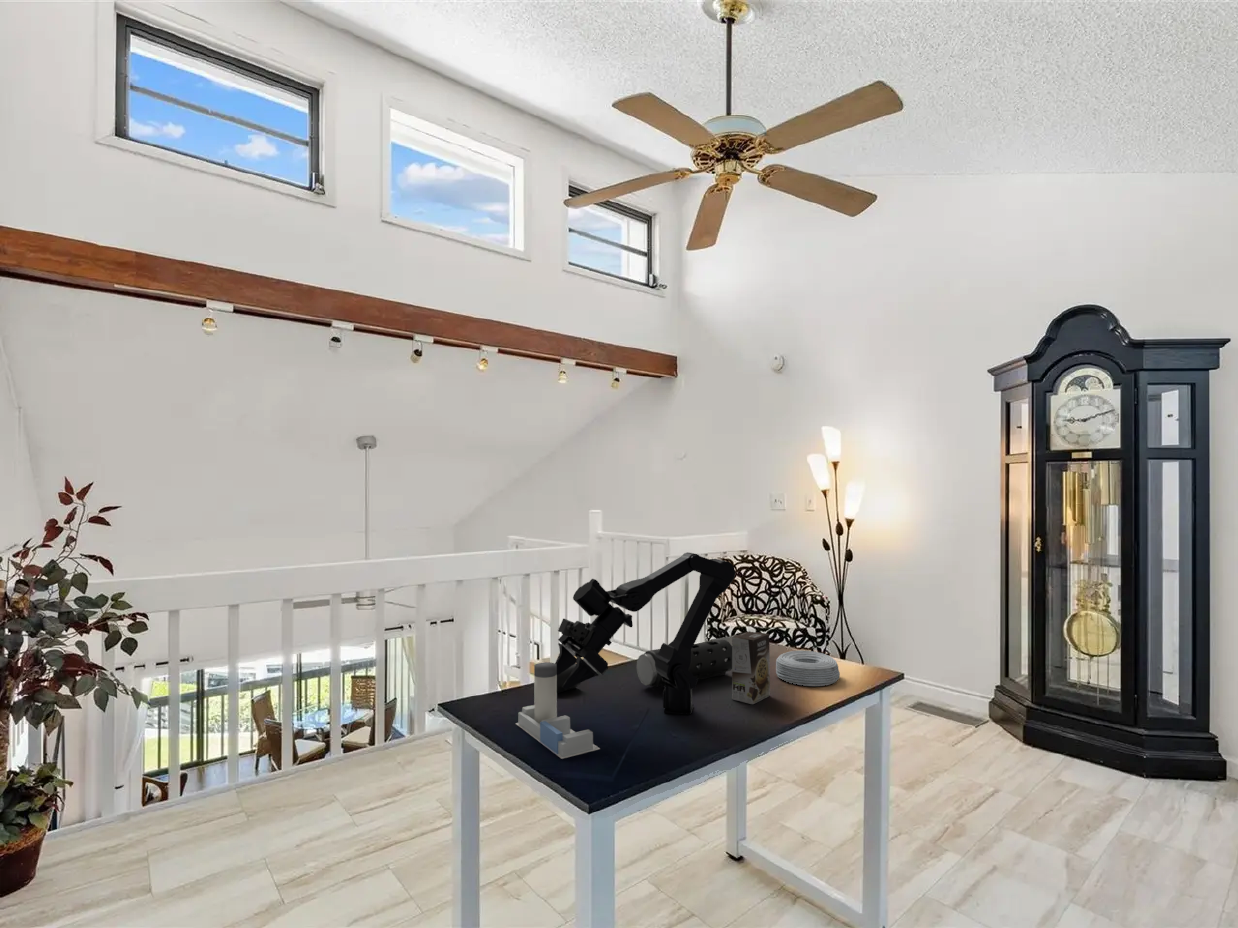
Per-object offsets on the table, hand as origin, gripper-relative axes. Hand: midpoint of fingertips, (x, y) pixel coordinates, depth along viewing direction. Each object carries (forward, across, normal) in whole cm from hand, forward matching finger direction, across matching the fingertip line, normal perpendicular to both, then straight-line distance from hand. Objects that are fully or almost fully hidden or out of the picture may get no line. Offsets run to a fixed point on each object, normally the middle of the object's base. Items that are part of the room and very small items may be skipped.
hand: (557, 682), depth 152 cm
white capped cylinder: (+9, 0, +5) cm, 10 cm away
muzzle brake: (-24, -19, +39) cm, 49 cm away
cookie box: (-30, 0, +45) cm, 54 cm away
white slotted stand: (+9, +5, +6) cm, 12 cm away
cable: (-47, -8, +62) cm, 78 cm away
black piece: (+1, -26, +14) cm, 30 cm away
